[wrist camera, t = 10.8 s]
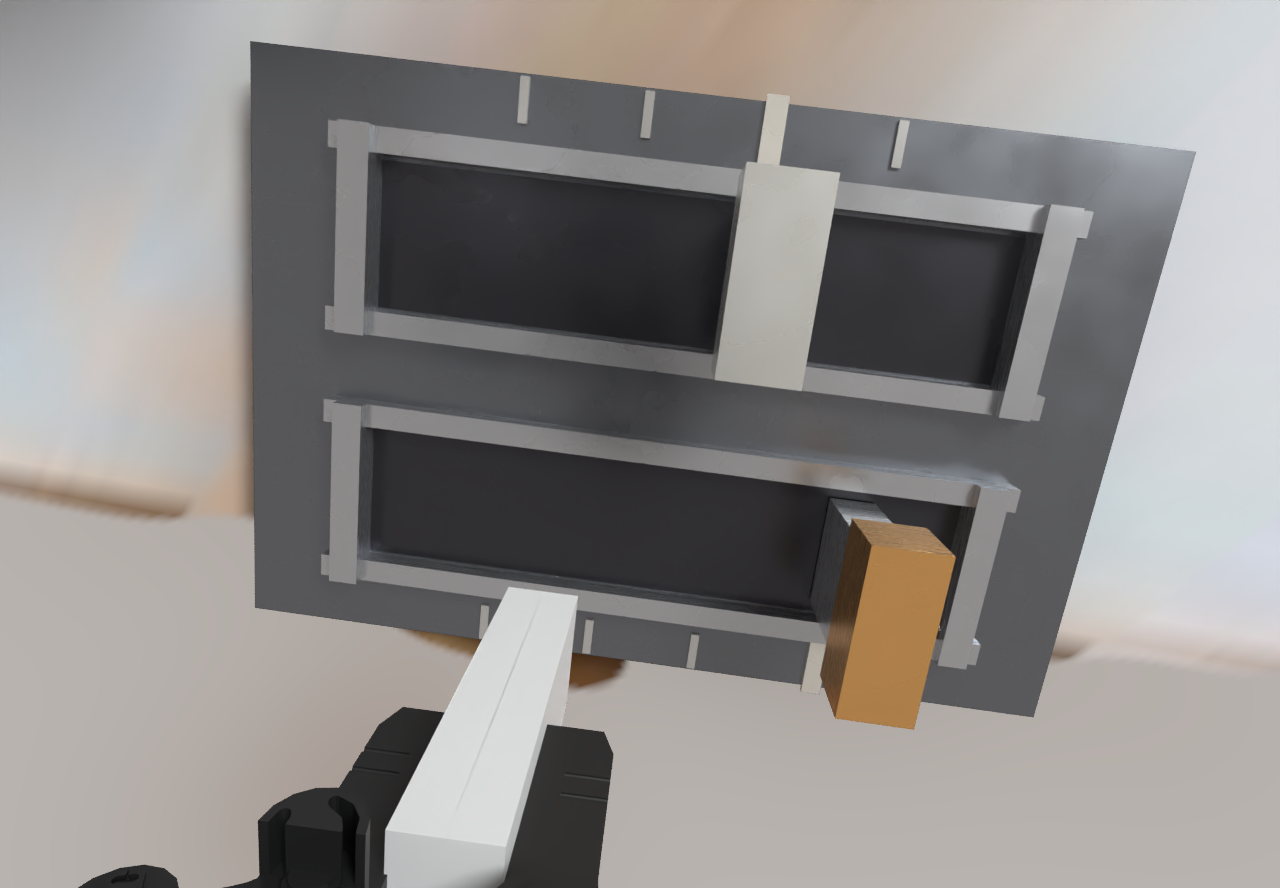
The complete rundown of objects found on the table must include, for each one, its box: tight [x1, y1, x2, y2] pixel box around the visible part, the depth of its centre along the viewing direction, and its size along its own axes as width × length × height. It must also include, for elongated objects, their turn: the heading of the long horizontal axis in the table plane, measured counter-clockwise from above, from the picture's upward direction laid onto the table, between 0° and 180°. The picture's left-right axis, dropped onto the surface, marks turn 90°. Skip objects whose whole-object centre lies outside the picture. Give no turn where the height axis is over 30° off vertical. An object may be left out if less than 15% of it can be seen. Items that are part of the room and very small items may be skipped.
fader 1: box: [711, 162, 840, 391], centre depth 20 cm, size 2×5×6 cm, turn 173°
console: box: [250, 41, 1196, 717], centre depth 25 cm, size 30×20×3 cm
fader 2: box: [810, 498, 956, 729], centre depth 22 cm, size 2×5×6 cm, turn 173°
